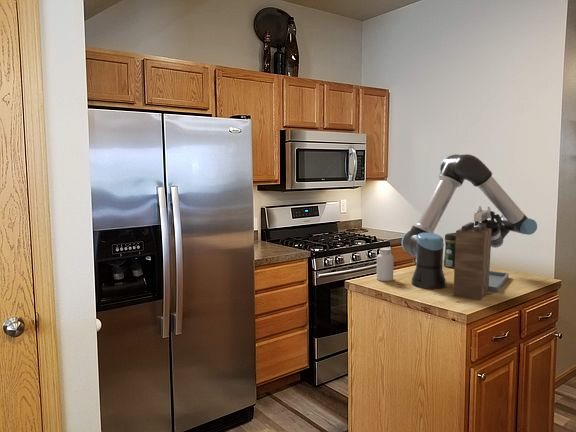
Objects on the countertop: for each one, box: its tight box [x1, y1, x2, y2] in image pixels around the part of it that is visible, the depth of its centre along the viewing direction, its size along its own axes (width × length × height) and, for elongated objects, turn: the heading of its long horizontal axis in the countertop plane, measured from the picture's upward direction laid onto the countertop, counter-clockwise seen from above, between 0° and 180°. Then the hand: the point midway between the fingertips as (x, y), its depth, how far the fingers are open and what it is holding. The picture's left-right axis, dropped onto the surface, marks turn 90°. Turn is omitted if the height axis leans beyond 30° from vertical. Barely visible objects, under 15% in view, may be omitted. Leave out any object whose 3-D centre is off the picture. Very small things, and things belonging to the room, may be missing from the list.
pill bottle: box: [376, 247, 395, 282], centre depth 221 cm, size 8×8×15 cm
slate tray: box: [488, 270, 509, 293], centre depth 217 cm, size 31×18×2 cm, turn 146°
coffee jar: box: [443, 232, 456, 269], centre depth 248 cm, size 10×8×19 cm
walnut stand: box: [452, 221, 492, 301], centre depth 196 cm, size 16×11×30 cm
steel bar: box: [473, 209, 490, 223], centre depth 202 cm, size 20×3×3 cm, turn 146°
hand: (483, 209), depth 204 cm, fingers closed on steel bar, 3 cm apart
